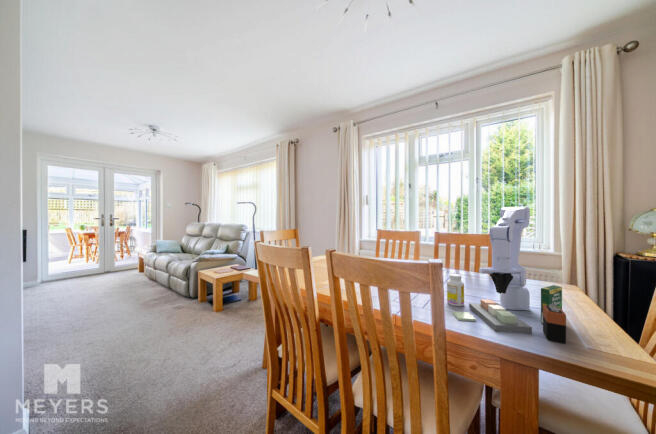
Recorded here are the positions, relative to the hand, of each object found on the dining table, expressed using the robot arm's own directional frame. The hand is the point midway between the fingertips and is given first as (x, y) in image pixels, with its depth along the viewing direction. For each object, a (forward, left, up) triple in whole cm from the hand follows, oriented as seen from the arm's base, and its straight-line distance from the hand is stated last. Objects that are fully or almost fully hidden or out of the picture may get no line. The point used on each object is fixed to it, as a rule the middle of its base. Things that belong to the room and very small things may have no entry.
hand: (500, 292), depth 90 cm
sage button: (+2, +8, -8) cm, 11 cm away
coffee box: (-15, +3, -10) cm, 18 cm away
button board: (+2, +2, -9) cm, 10 cm away
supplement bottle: (+12, -12, -10) cm, 19 cm away
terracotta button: (+2, -4, -8) cm, 9 cm away
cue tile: (+14, +2, -9) cm, 17 cm away
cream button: (+2, +2, -8) cm, 8 cm away
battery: (-8, +14, -10) cm, 19 cm away
